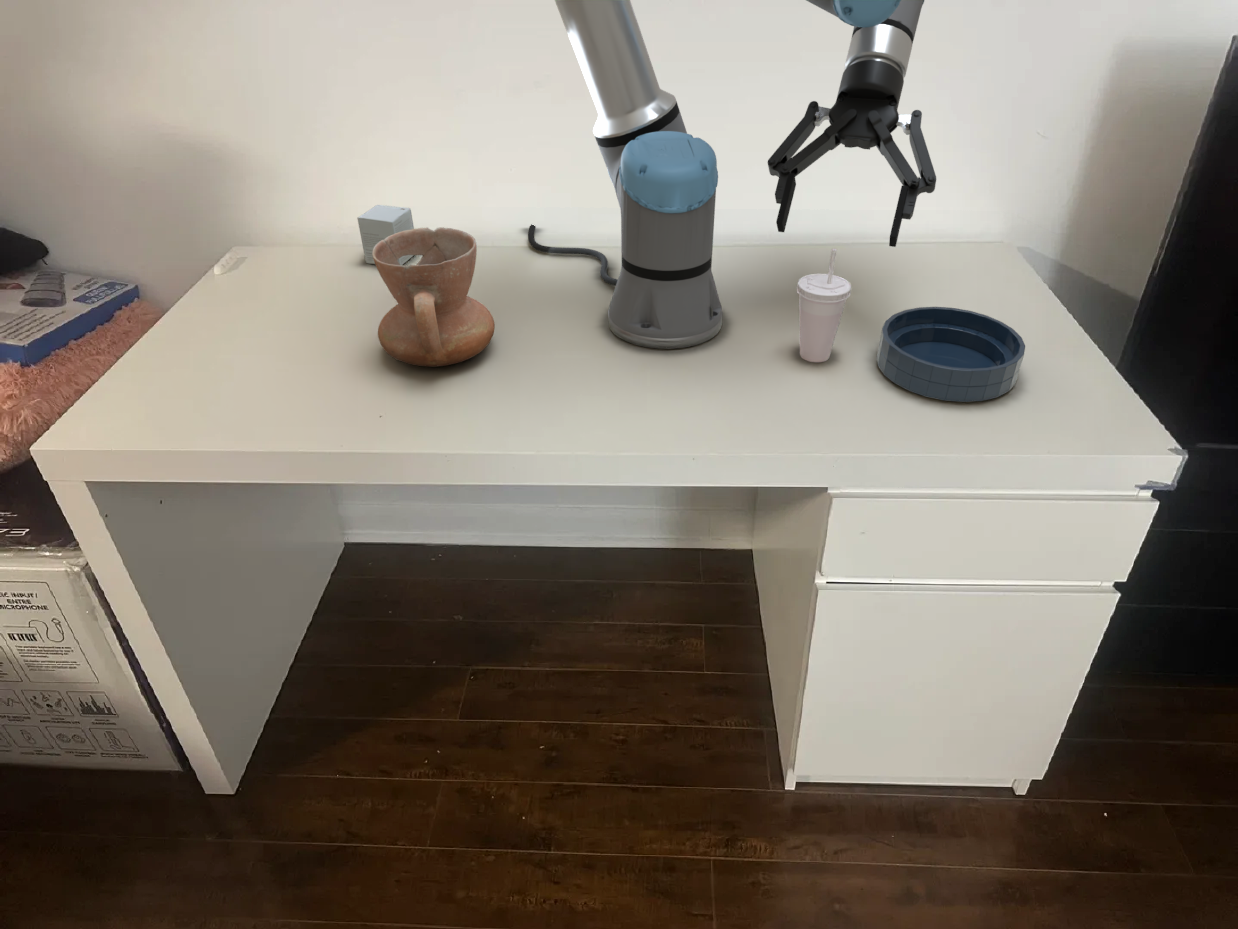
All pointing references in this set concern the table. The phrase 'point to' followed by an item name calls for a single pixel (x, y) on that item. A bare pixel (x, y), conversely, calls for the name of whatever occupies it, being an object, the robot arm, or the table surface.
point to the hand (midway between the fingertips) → (835, 234)
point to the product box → (383, 227)
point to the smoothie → (820, 311)
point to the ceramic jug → (432, 298)
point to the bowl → (950, 353)
